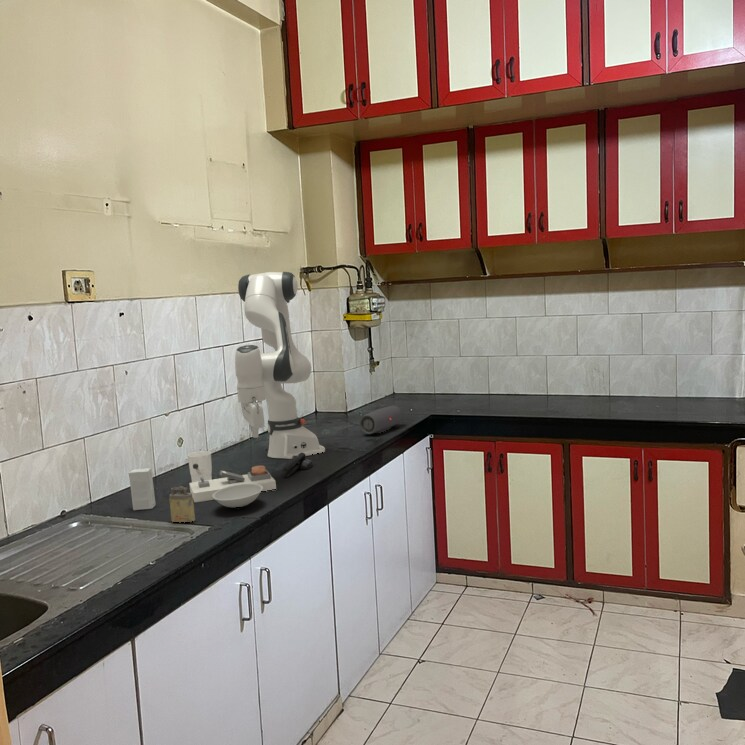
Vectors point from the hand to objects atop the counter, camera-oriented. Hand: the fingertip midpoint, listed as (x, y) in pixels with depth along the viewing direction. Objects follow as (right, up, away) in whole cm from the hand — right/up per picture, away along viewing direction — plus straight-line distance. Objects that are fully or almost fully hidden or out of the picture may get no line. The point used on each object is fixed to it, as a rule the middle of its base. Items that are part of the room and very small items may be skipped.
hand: (255, 436), depth 244 cm
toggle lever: (-16, -14, -4) cm, 22 cm away
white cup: (-21, -17, +14) cm, 30 cm away
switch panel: (-7, -18, -1) cm, 19 cm away
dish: (-2, -20, -20) cm, 28 cm away
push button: (+1, -13, +1) cm, 13 cm away
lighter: (-16, -22, -30) cm, 40 cm away
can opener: (+11, -14, +19) cm, 26 cm away
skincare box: (-32, -21, -14) cm, 41 cm away
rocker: (-7, -13, -1) cm, 15 cm away
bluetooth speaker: (+43, -5, +79) cm, 90 cm away
